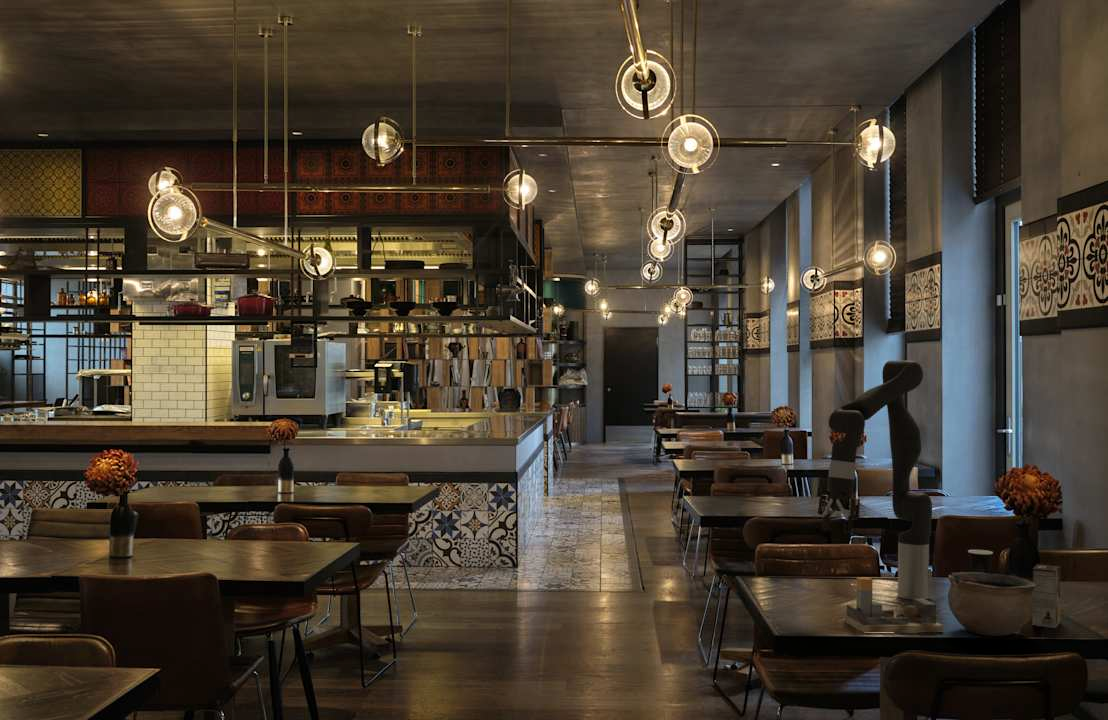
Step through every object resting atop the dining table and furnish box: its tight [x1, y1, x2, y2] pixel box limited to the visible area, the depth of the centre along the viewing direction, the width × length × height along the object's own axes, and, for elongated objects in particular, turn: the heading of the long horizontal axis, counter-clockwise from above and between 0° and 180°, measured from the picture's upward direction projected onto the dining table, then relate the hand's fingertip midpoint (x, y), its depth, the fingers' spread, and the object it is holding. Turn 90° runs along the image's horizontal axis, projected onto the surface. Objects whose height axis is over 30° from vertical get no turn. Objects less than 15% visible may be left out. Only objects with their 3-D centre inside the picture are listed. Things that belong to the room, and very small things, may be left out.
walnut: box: [902, 604, 918, 618], centre depth 286 cm, size 4×4×4 cm
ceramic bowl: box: [947, 571, 1035, 637], centre depth 280 cm, size 22×22×15 cm
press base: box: [844, 598, 944, 634], centre depth 286 cm, size 22×14×7 cm, turn 96°
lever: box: [855, 576, 884, 618], centre depth 285 cm, size 6×7×11 cm
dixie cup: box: [967, 549, 994, 574], centre depth 352 cm, size 8×8×11 cm
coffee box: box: [1031, 563, 1061, 629], centre depth 292 cm, size 9×6×16 cm
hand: (836, 531), depth 304 cm, fingers open, 8 cm apart
